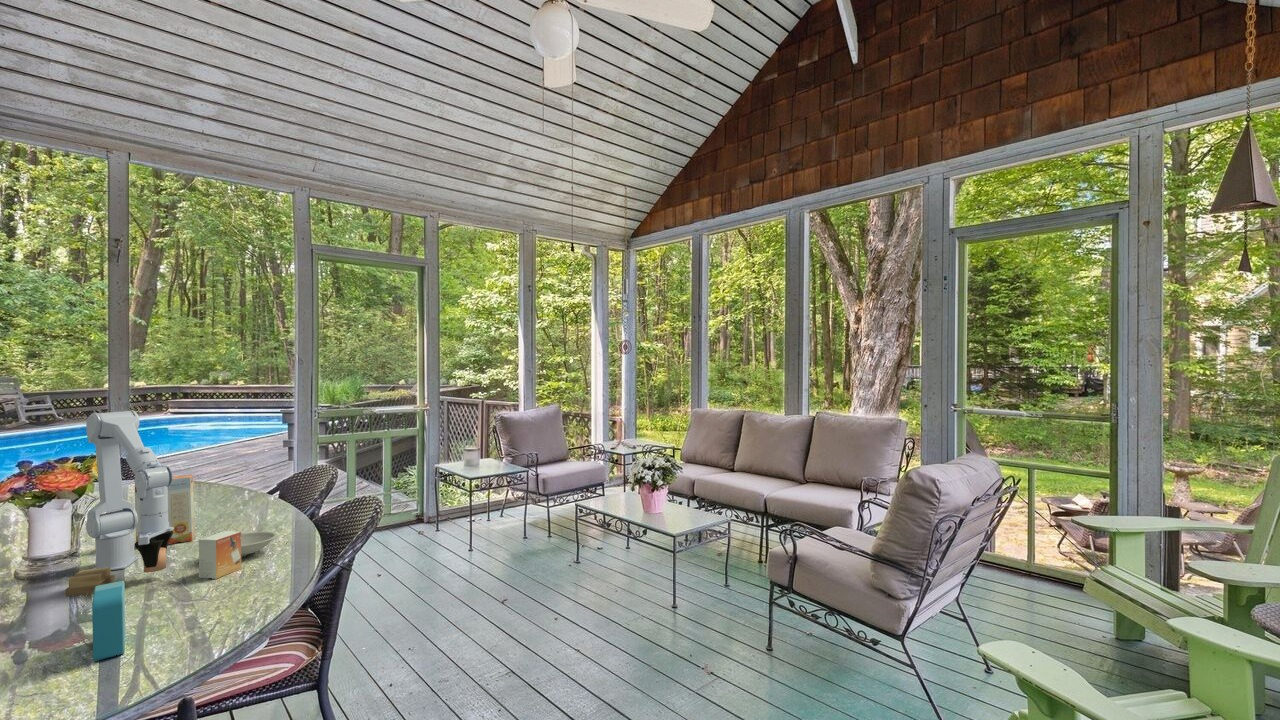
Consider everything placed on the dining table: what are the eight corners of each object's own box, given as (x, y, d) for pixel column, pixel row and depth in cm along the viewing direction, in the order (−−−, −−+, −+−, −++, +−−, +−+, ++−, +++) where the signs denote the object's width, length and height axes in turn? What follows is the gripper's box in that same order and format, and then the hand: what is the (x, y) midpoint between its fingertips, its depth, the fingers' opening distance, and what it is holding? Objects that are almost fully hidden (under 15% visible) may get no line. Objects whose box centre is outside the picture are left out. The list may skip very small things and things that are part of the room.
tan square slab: (80, 588, 150) (80, 579, 150) (114, 583, 152) (114, 574, 152) (65, 598, 143) (65, 589, 143) (102, 593, 146) (101, 584, 146)
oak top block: (81, 579, 149) (80, 570, 149) (110, 576, 151) (110, 566, 151) (68, 588, 143) (68, 578, 143) (99, 584, 146) (99, 575, 146)
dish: (278, 544, 182) (278, 528, 182) (276, 557, 169) (276, 540, 169) (209, 554, 173) (208, 538, 173) (202, 569, 160) (201, 551, 160)
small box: (215, 579, 153) (215, 540, 153) (198, 578, 154) (197, 539, 154) (242, 568, 161) (241, 531, 161) (225, 567, 162) (224, 530, 162)
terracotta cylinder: (147, 567, 155) (147, 548, 155) (169, 565, 156) (168, 546, 156) (140, 573, 150) (140, 554, 150) (162, 570, 152) (162, 551, 152)
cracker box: (195, 536, 190) (193, 473, 190) (192, 541, 185) (191, 476, 185) (139, 544, 183) (138, 478, 183) (135, 549, 178) (134, 482, 178)
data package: (96, 641, 120) (95, 584, 120) (125, 634, 123) (124, 578, 123) (93, 664, 111) (91, 602, 111) (124, 656, 114) (123, 595, 114)
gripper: (162, 518, 148) (163, 570, 148) (182, 504, 162) (183, 552, 162) (127, 521, 145) (128, 574, 146) (150, 507, 159) (151, 556, 159)
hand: (154, 563), depth 153 cm, fingers closed on terracotta cylinder, 5 cm apart
